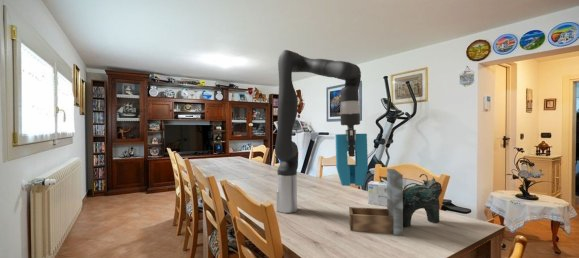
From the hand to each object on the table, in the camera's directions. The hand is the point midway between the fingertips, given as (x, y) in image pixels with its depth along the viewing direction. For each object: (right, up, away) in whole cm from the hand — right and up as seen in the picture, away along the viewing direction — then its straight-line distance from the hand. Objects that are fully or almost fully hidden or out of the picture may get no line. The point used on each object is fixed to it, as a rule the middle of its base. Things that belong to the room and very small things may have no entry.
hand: (351, 155), depth 106 cm
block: (0, -12, 0) cm, 12 cm away
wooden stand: (+9, -28, -1) cm, 29 cm away
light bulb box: (+22, -28, +31) cm, 47 cm away
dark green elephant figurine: (+29, -28, +2) cm, 40 cm away
